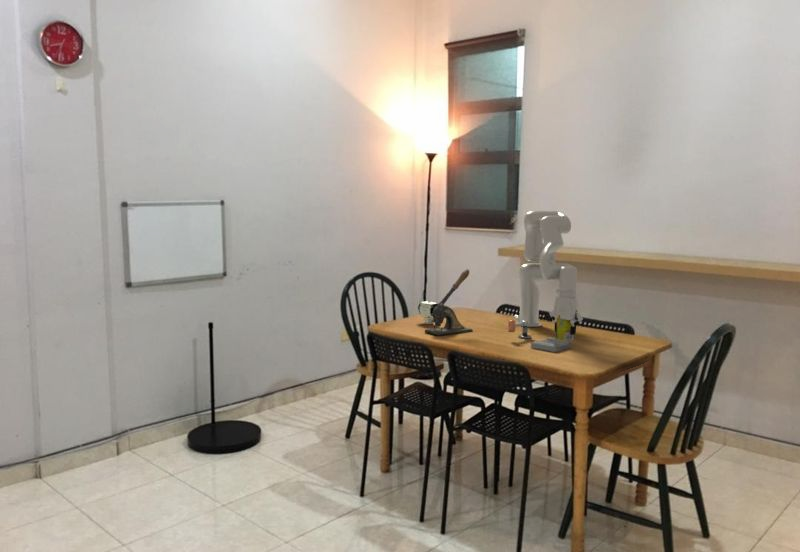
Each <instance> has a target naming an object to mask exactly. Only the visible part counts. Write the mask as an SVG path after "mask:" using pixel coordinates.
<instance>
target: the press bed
mask: <svg viewBox="0 0 800 552" xmlns="http://www.w3.org/2000/svg"><path fill="white" fill-rule="evenodd" d="M571 348H572V343H571V342H569V341H567V340H561V339H556V337H554V338H553V337H547V339H545V338H544V339H542V340H538V341H537V340H534V341H533V342H532V343H530V349H535V350H541V351H545V352H551V353H555V354H556V353H560V352H561V351H566V350H569V349H571Z"/></svg>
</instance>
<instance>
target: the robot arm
mask: <svg viewBox="0 0 800 552" xmlns="http://www.w3.org/2000/svg"><path fill="white" fill-rule="evenodd" d="M523 226H524V229H525V238H524V239H525V241H524V249H523V250H524V251H523V256H524V259H525V260H526V261H527V262H531V263H524V264H522V265H521V266H520V267H519V271H518V273H519V281H520V282H519V283H520V286H519V287H520V293H519V294H520V296H519V297H520V298H519V315H518V314H515V315H514V316H513V320H517V321H515V323H518V322H520V321H521V320H529V321H530V326H528V328H537V327H541V326H542V322H541V321H539V313H540V311H539V310H540V309H539V308H540V289H539V287H538V285H537V284H536V283H549V282H552V281H558V288H557V289H556V291H555V293H556V294H557V295H556V297H555V300H554V306H553V310H552V311H550V312H549V315H550V317H551V320H552V321H553V323H554V333H556V329H557V319H558V315H560V319H563V320H569V321H570V322H571V324H572V326H571V331H570V335H574V336H575V335H576V333H577V326H578V325H579V324H580V323H581V322H582V321H583V320H584V318H583V316H582V315H581V314H580V313H579V303H578V298H577V296H576V295H577V282H578V281H577V279H578V269H577V267H576V266H573V265H571V264H569V263H556V259H557V251H559V250H560V249H562V247H563V246H564V239H563V236H562V234H569V233H570V231H571V228H572V222H571V220H570V218H569V217H568V216H567V215H566V214H564V213H562V212H561V211H560V212H559V211H558V210H557V211H555V210H531V211H527V213H525V215H524V220H523ZM532 262H533V263H532ZM535 262H536V263H535ZM537 262H539V263H537Z"/></svg>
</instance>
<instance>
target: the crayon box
mask: <svg viewBox="0 0 800 552" xmlns="http://www.w3.org/2000/svg"><path fill="white" fill-rule="evenodd" d="M571 326H572V324H571V322H570V321H569V320H563V319H560V315H558V319H557V329H556V332H555V333H556V336H555V339H561V340H567V341H570V342H573V341H574V338H575V337H574V336H575V334H574V335H570V331H571Z"/></svg>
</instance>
